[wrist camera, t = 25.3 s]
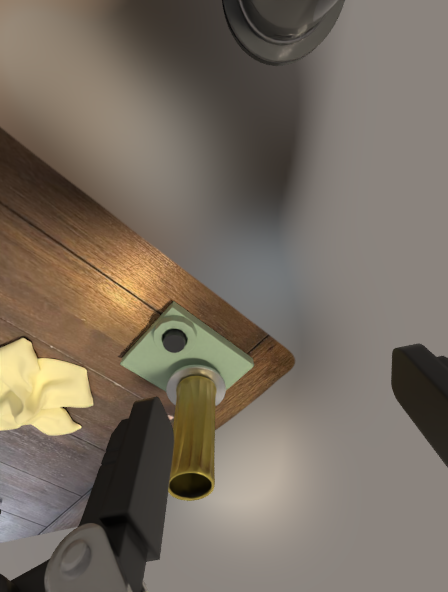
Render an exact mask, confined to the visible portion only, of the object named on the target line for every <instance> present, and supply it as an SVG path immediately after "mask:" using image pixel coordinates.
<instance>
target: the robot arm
mask: <svg viewBox="0 0 448 592" xmlns="http://www.w3.org/2000/svg"><path fill="white" fill-rule="evenodd" d="M337 1H338V0H238V4H239V7H240V10H241V13H242V15H243V17H244V19H245V21H246V23H247V25H248V26H249V27H250V29H251V30H252V31H253V32H254V33H255V34H256V35H257V36H258V37H259V38H261V39H262V40H264V41H266V42H268V43H271V44H274V45H290V44H293V43H296V42H299V41H301V40H302V39H304V38H306V37H307V36H308V35H310V34H311V33H312V32H313V31H314V30H315V29H316V28H317V26H318V25H319V24H320V23H321V21H322V20H323V19H324V17H325V16H326V14H327V13H328V12H329V10H330V9H331V8H332V7H333V6H334V4H335V3H336V2H337ZM391 379H392V380H391V384H392V389H393V392H394V395H395V397H396V399H397V401H398V402H399V403H400V405H401V406H402V407H403V409H404V410H405V411H406V413H407V414H408V415H409V417H410V418H411V419H412V421H413V422H414V423H415V425H416V426H417V427H418V429H419V430H420V431H421V433H422V434H423V435H424V436H425V438H426V439H427V441H428V442H429V443H430V445H431V446H432V447H433V448H434V450H435V451H436V453H437V454H438V455H439V457H440V458H441V459H442V461H443V462H444V463H445V464H446V466H447V467H448V358H446V357H444V356H440V357H436V356H435V355H434V354H432V353H431V352H430V351H429V350H428V349H427V348H426V347H425V346H423V345H422V344H414V345H409V346H404V347H399V348H395V349H394V350H393V353H392V378H391ZM173 449H174V432H173V428H172V425H171V423H170V421H169V418H168V416H167V414H166V412H165V409H164V407H163V405H162V403H161V401H160V399H159V398H158V397H153V398H148V399H143V400H138V401H135V403H134V404H133V407H132V411H131V414H130V417H129V419H124V420H122V421H121V422H120V423H119V425H118V426H117V428H116V429H115V430H114V432H113V433H112V434H111V437H110V440H109V443H108V446H107V449H106V453H105V454H104V457H103V460H102V463H101V464H102V466H101V467H100V468H99V471H98V474H97V477H96V480H95V483H94V485H93V488H92V491H91V494H90V497H89V499H88V502H87V505H86V508H85V511H84V514H83V516H82V519H81V522H80V524H79V526H78V528H76V529H74V530H73V531H72V532H70V533H69V534H68V535H67V536H66V537H65V538H64V539H63V540H62V541H61V542H60V544H59V545H58V546H57V548H56V549H55V551H54V552H53V554H52V556H51V558H50V559H49V560H47V561H45V562H44V563H42V564H40V565H38V566H37V567H35V568H33V569H31V570H30V571H28V572H26V573H24V574H22V575H20V576H19V577H17V578H15V579H13V580H11V581H9V580H8V579H7V578H6V577H4V576H3V575H1V574H0V592H148V589H147V587H146V585H145V582H144V581H143V577H144V571H145V565H146V562H147V561H153V560H158V559H160V552H161V544H162V536H163V528H164V520H165V512H166V504H167V496H168V488H169V481H170V473H171V465H172V457H173Z"/></svg>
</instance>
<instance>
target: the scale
mask: <svg viewBox="0 0 448 592" xmlns="http://www.w3.org/2000/svg"><path fill="white" fill-rule="evenodd" d="M171 329H179V330H181V331H182V332H183V333H184V334H185V336H186V341H185V347H184V349H183V350H182V351H180V352H177V353H171V352H169V351H167V350H166V349H165V348H164V346H163V340H164V336H165V333H166V332H167V331H169V330H171ZM120 364H121V365H122V366H124V367H126V368H127V369H129V370H131V371H132V372H134V373H136V374H137V375H139V376H141V377H142V378H144V379H146V380H147V381H149V382H151V383H152V384H154V385H156V386H158V387H159V388H161V389H163V390H164V391H166V387H167V382H168V380H169V378H170V376H171V375H172V374H173V373H174V372H175V371H176V370H178V369H180V368H182V367H185V366H188V365H204V366H208V367H210V368H213V369H214V370H216V371H217V372H218V373H219V374H220V375H221V376H222V377H223V379H224V381H225V386H226V390H227V389H228V388H229V387H230V386H232V385H233V384H234V383H235V382H236V381H237V380H238V379H240V378H241V377H242V376H243V375H244V374H245V373H247V372H248V371H249V370H250V369H251V368H252V367H253V366H254V363H253V358H251V357H250V356H249V355H247V354H246V353H244V352H243V351H242V350H240V349H239V348H238V347H236V346H235V345H233V344H232V343H231V342H229V341H228V340H227V339H225V338H224V337H222V336H221V335H220V334H218V333H217V332H216V331H214V330H213V329H211V328H210V327H209V326H207V325H206V324H205V323H203V322H202V321H200V320H199V319H198V318H196V317H195V316H194V315H192V314H191V313H189V312H188V311H187V310H185V309H184V308H183V307H181V306H180V305H178V304H177V303H176V302H174V301H173V303H172V304H171V305H170V306H169V307H168V308H167V309H166V310H165V311H164V312H163V313H162V315H161V316H160V317H159V318H158V319H157V320H156V321H155V322H154V323H153V324H152V326H151V327H150V328H149V329H148V330H147V331H146V332H145V333H144V334H143V335H142V337H141V338H140V339H139V340H138V341H137V342H136V343H135V344H134V345H133V346H132V347H131V349H130V350H129V351H128V352H127V353H126V354H125V355H124V356H123V358H122V361H121V363H120ZM166 392H167V391H166Z"/></svg>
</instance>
